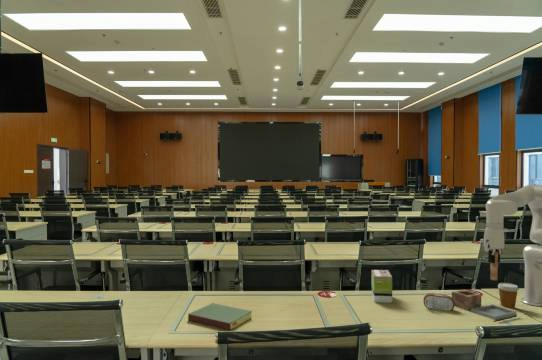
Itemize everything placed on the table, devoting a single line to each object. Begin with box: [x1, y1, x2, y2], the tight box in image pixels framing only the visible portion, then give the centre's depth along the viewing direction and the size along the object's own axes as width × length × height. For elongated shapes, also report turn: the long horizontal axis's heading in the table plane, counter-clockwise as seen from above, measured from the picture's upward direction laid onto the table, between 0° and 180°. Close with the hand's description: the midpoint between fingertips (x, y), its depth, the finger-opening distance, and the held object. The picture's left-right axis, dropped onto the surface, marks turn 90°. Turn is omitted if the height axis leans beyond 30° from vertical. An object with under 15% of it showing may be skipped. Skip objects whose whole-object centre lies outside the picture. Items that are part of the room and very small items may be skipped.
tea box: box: [371, 269, 393, 304], centre depth 231 cm, size 15×10×15 cm, turn 172°
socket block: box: [451, 289, 482, 312], centre depth 215 cm, size 10×10×8 cm
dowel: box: [489, 251, 499, 281], centre depth 204 cm, size 3×3×14 cm
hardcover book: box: [187, 302, 253, 331], centre depth 197 cm, size 25×19×4 cm
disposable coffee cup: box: [497, 282, 519, 310], centre depth 216 cm, size 10×10×12 cm
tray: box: [470, 304, 517, 323], centre depth 205 cm, size 16×13×2 cm
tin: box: [423, 292, 456, 312], centre depth 211 cm, size 15×3×8 cm, turn 65°
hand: (494, 262), depth 204 cm, fingers closed on dowel, 3 cm apart
